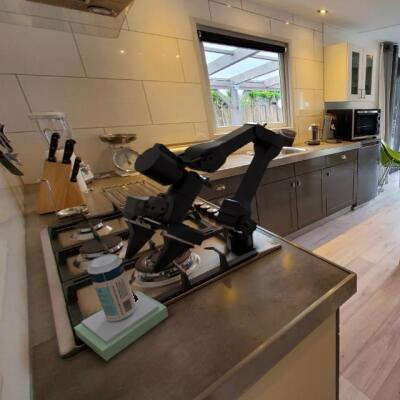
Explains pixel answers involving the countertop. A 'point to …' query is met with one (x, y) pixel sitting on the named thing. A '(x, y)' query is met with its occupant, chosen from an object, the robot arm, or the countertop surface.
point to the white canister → (112, 286)
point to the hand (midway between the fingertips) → (140, 265)
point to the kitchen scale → (120, 327)
